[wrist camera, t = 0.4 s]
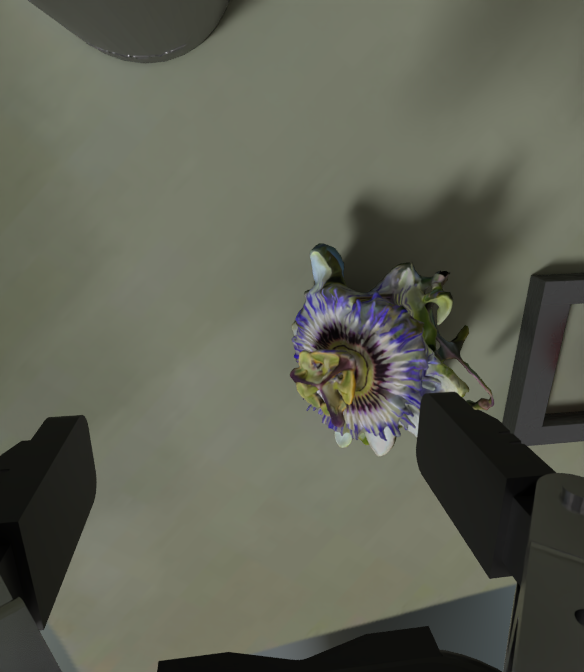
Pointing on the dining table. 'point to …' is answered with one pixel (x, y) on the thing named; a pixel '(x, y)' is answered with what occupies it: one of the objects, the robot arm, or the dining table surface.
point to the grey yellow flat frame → (542, 363)
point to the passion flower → (374, 351)
